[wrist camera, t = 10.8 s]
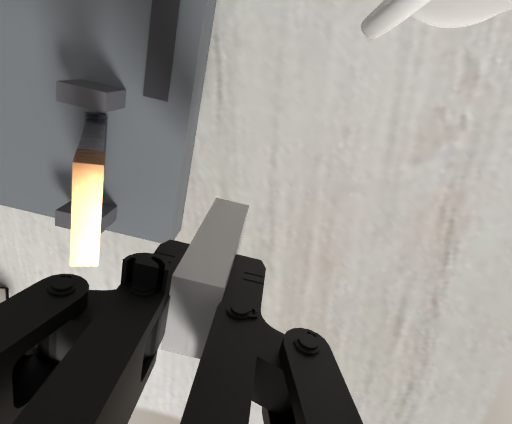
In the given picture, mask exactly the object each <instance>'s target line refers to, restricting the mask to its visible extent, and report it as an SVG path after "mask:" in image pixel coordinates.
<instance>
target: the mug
mask: <svg viewBox="0 0 512 424" xmlns="http://www.w3.org/2000/svg"><path fill="white" fill-rule="evenodd" d="M509 10H512V0H384V1H383V2H382V3H381V4H380V5H379V6H378V7H377V8H376V9H375V10H374V11H373V12H372V13H371V14H370V15H369V16H367V18H366V19H365V20H364V21H363V22H362V24H361V30H362V32H363V33H364V35H365V36H366V37H367V38H369V39H375V38H377V37H379V36H381V35H383V34H384V33H386V32H388V31H389V30H391V29H392V28H394V27H395V26H397V25H398V24H399V23H401V22H402V21H404V20H405V19H407V18H408V17H409V16H412V17H413V18H415V19H417V20H418V21H420V22H423V23H425V24H428V25H431V26H435V27H442V28H459V27H465V26H470V25H474V24H477V23H480V22H482V21H485V20H487V19H489V18H491V17H493V16H495V15H497V14H499V13H501V12H505V11H509Z"/></svg>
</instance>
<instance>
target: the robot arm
mask: <svg viewBox="0 0 512 424" xmlns="http://www.w3.org/2000/svg"><path fill="white" fill-rule="evenodd" d="M248 209H249V205H245V204H240V203H236V202H232V201H228V200H224V199H219V198H216V200H215V201H214V203H213V205H212V207H211V208H210V210H209V212H208V214H207V215H206V217H205V219H204V221H203V222H202V224H201V226H200V228H199V229H198V231H197V233H196V235H195V237H194V238H193V240H192V242H191V244H187V243H183V242H179V241H174V240H168V241H166V242H164V243H162V244H160V245H159V247H158V248H157V249H156V251H155V253H154V254H151V253H136V254H132V255H129V256H127V257H126V258H125V259H123V264H122V276H121V284H120V286H119V287H118V288H117V289H115V290H89V285H88V283H87V281H86V280H85V279H83V278H82V277H80V276H77V275H73V274H59V275H53V276H50V277H47V278H45V279H42V280H41V281H39V282H37V283H35V284H33V285H32V286H30V287H28V288H26V289H24V290H23V291H21V292H19V293H17V294H16V295H14V296H12V297H10V298H8V299H7V300H5V301H3V302H1V303H0V424H128V421H129V419H130V417H131V415H132V412H133V410H134V408H135V406H136V404H137V402H138V400H139V397H140V395H141V393H142V391H143V389H144V386H145V384H146V382H147V380H148V378H149V375H150V373H151V371H152V369H153V367H154V364H155V361H156V356H157V349H158V347H159V345H160V343H161V341H162V346H161V350H165V351H170V352H174V353H178V354H182V355H186V356H190V357H195V358H199V359H200V363H199V366H198V369H197V372H196V375H195V378H194V382H193V385H192V388H191V391H190V394H189V397H188V401H187V404H186V407H185V410H184V413H183V417H182V420H181V423H180V424H248V423H249V415H250V407H251V400H252V401H253V402H255V403H257V404H259V405H260V406H262V415H263V421H264V424H363V422H362V420H361V418H360V415H359V413H358V411H357V408H356V406H355V404H354V402H353V399H352V397H351V395H350V392H349V390H348V388H347V385H346V383H345V381H344V378H343V376H342V374H341V372H340V369H339V367H338V365H337V362H336V360H335V358H334V355H333V353H332V351H331V348H330V346H329V345H328V343H327V342H326V340H325V339H324V338H323V337H321V336H320V335H319V334H317V333H315V332H313V331H311V330H309V329H304V328H293V329H291V330H289V331H287V332H286V334H283V333H281V332H279V331H277V330H275V329H274V328H272V327H271V326H270V325H268V324H267V323H266V322H265V320H264V319H263V317H262V315H261V302H262V294H263V286H264V278H265V271H266V268H265V266H264V264H263V262H262V261H261V260H258V259H254V258H250V257H246V256H242V255H238V253H239V248H240V244H241V240H242V235H243V231H244V226H245V222H246V218H247V213H248Z"/></svg>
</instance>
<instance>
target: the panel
mask: <svg viewBox="0 0 512 424" xmlns="http://www.w3.org/2000/svg"><path fill="white" fill-rule="evenodd" d="M215 6H216V0H0V205H4V206H8V207H12V208H16V209H21V210H25V211H29V212H33V213H37V214H41V215H46V216H50V217H54V218H55V226H59V227H63V228H67V229H71V205H72V167H73V159H74V156H75V152H76V149H78V146H79V143H80V139H81V135H82V132H83V128H84V119H85V112H98V113H103V114H106V115H108V124H107V141H106V157H105V173H104V189H103V198H102V212H101V229H100V234H101V233H102V232H103V231H104V230H108V231H112V232H117V233H121V234H125V235H129V236H133V237H137V238H142V239H146V240H150V241H154V242H158V243H164V242H166V241H168V240H174V239H175V237H176V236H177V234H178V233H179V231H180V230H181V225H182V219H183V212H184V206H185V199H186V193H187V186H188V180H189V173H190V167H191V161H192V154H193V148H194V141H195V135H196V128H197V122H198V115H199V109H200V103H201V96H202V90H203V83H204V77H205V70H206V64H207V57H208V51H209V45H210V38H211V32H212V25H213V19H214V12H215Z"/></svg>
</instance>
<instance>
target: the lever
mask: <svg viewBox="0 0 512 424" xmlns="http://www.w3.org/2000/svg"><path fill="white" fill-rule="evenodd" d="M107 124H108V115H106V114H103V113H98V112H85V119H84V128H83V132H82V135H81V139H80V143H79V146H78V149H76V152H75V156H74V159H73V167H72V205H71V243H70V266H98V261H99V245H100V229H101V212H102V198H103V189H104V173H105V157H106V141H107Z"/></svg>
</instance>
